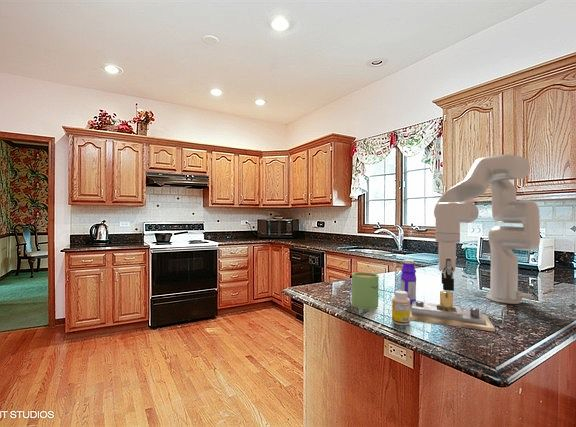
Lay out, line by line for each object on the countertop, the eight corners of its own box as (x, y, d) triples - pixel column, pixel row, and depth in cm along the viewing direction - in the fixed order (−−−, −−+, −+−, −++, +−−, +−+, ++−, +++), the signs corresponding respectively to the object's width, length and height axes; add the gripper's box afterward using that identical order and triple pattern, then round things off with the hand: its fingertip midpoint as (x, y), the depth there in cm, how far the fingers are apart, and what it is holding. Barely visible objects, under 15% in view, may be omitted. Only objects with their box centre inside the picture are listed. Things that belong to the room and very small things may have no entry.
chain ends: (481, 316, 106) (481, 306, 106) (485, 324, 98) (486, 314, 98) (412, 307, 115) (412, 298, 115) (411, 314, 107) (411, 304, 107)
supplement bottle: (395, 318, 105) (396, 289, 105) (412, 322, 101) (412, 291, 101) (389, 323, 101) (389, 291, 101) (406, 327, 97) (406, 295, 97)
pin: (452, 314, 107) (452, 291, 108) (453, 317, 104) (453, 294, 104) (439, 312, 109) (439, 290, 109) (440, 316, 105) (440, 292, 105)
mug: (374, 311, 113) (375, 278, 113) (347, 306, 119) (348, 275, 119) (383, 303, 124) (384, 273, 124) (358, 298, 130) (359, 270, 130)
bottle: (417, 305, 121) (418, 261, 121) (402, 304, 122) (402, 260, 122) (413, 300, 128) (414, 258, 128) (399, 299, 130) (400, 258, 130)
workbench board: (486, 317, 107) (486, 315, 107) (494, 331, 95) (494, 328, 95) (407, 307, 118) (407, 305, 118) (405, 318, 105) (405, 315, 105)
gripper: (434, 235, 116) (434, 280, 116) (436, 239, 100) (436, 291, 100) (457, 236, 113) (457, 282, 113) (462, 240, 97) (462, 294, 97)
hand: (447, 286), depth 107 cm, fingers open, 9 cm apart
